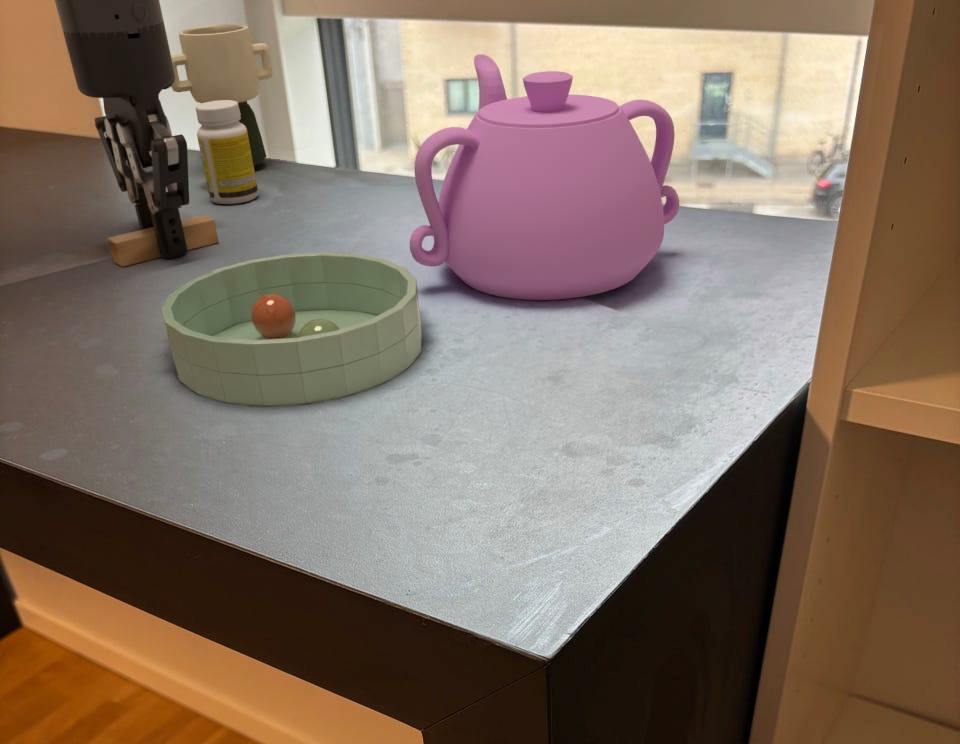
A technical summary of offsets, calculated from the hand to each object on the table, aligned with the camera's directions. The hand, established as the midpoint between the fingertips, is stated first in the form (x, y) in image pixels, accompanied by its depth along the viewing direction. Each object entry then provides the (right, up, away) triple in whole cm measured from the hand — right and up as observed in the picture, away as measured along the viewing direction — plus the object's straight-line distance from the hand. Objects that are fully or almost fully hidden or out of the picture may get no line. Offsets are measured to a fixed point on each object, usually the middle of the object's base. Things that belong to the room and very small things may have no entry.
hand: (166, 250), depth 88 cm
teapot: (+32, -4, -7) cm, 33 cm away
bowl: (+15, -15, -20) cm, 29 cm away
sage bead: (+17, -16, -22) cm, 32 cm away
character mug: (+1, +17, +22) cm, 28 cm away
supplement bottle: (+3, +10, +13) cm, 16 cm away
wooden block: (0, 0, 0) cm, 0 cm away
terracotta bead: (+13, -13, -18) cm, 26 cm away
